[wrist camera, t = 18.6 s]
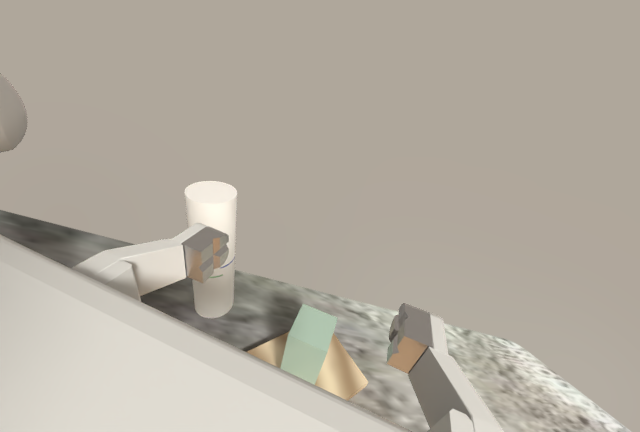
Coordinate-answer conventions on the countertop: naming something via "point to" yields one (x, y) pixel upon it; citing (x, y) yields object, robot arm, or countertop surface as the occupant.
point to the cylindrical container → (220, 213)
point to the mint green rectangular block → (308, 343)
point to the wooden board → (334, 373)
